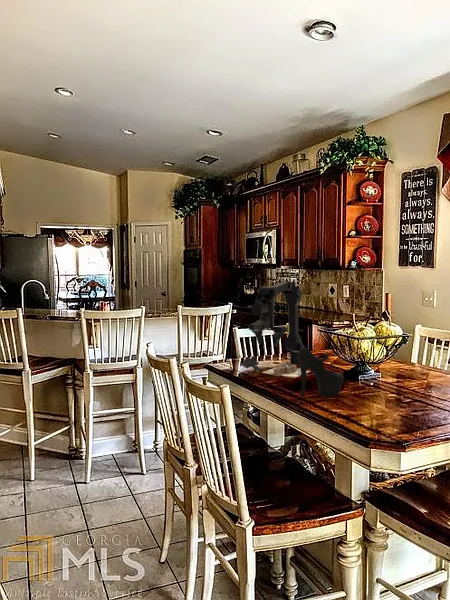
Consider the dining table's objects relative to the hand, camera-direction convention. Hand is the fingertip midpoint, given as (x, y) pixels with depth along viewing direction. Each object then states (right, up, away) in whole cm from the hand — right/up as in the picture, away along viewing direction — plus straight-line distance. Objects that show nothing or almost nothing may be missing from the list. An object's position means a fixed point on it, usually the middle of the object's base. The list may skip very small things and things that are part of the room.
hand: (267, 346), depth 238 cm
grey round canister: (+9, -14, +2) cm, 17 cm away
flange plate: (+7, -13, -1) cm, 15 cm away
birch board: (+9, -14, +2) cm, 17 cm away
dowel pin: (+14, -13, -5) cm, 20 cm away
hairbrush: (-6, -13, +16) cm, 21 cm away
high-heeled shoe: (+18, -17, -34) cm, 42 cm away
